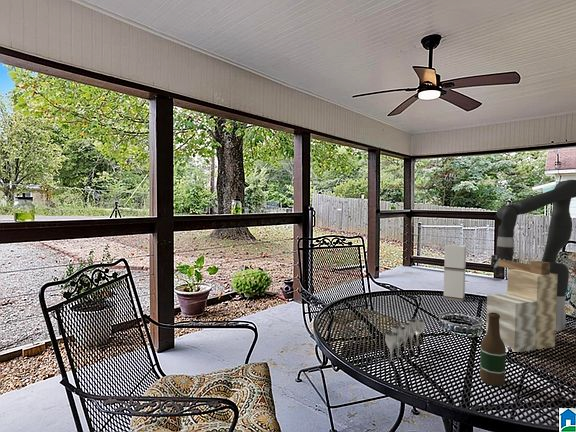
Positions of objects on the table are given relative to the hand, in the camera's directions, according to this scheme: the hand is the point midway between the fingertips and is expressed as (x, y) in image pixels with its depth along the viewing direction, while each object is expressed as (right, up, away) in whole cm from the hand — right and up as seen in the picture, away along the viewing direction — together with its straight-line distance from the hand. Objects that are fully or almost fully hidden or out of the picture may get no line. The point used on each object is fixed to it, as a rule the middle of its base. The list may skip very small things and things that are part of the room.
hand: (504, 276), depth 184 cm
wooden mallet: (-4, +7, -20) cm, 21 cm away
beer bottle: (-40, -27, -59) cm, 76 cm away
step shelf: (-8, -26, -25) cm, 37 cm away
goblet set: (-64, -26, -38) cm, 79 cm away
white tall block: (-2, -23, +51) cm, 56 cm away
